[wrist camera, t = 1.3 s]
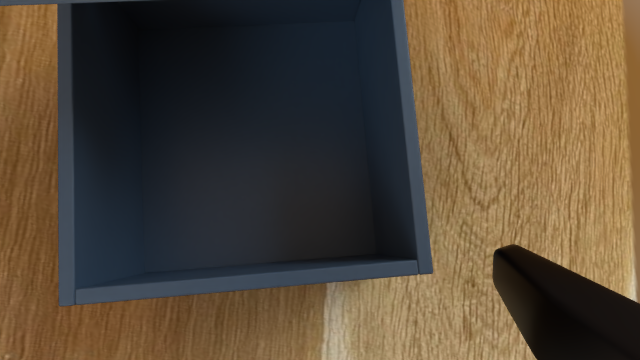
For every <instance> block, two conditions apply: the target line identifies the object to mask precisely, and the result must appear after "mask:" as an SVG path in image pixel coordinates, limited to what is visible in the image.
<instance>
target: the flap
mask: <svg viewBox="0 0 640 360" xmlns="http://www.w3.org/2000/svg"><path fill="white" fill-rule="evenodd" d="M122 1H151V0H0V6H8V5H37V4H65V3H94V2H122Z"/></svg>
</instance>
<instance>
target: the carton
mask: <svg viewBox="0 0 640 360" xmlns="http://www.w3.org/2000/svg"><path fill="white" fill-rule="evenodd" d="M58 233H59V306H72V305H83V304H95V303H106V302H117V301H128V300H140V299H151V298H162V297H174V296H185V295H196V294H207V293H219V292H230V291H241V290H253V289H264V288H275V287H286V286H298V285H309V284H320V283H332V282H343V281H354V280H365V279H377V278H388V277H399V276H411V275H418V274H420V275H422V274H432V273H433V266H432V257H431V248H430V239H429V230H428V220H427V211H426V202H425V193H424V184H423V175H422V166H421V157H420V148H419V138H418V129H417V120H416V111H415V102H414V93H413V84H412V75H411V66H410V57H409V47H408V38H407V29H406V20H405V11H404V2H403V0H151V1H122V2H94V3H65V4H58Z"/></svg>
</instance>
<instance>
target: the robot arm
mask: <svg viewBox="0 0 640 360" xmlns="http://www.w3.org/2000/svg"><path fill="white" fill-rule="evenodd" d="M492 276H493V282H494V285H495V287H496V289H497V291H498V293H499V295H500V296H501V298H502V300H503V302H504V304H505V305H506V307H507V309H508V311H509V312H510V314H511V316H512V318H513V319H514V321H515V323H516V325H517V327H518V328H519V330H520V332H521V334H522V335H523V337H524V339H525V341H526V342H527V344H528V346H529V348H530V349H531V351H532V353H533V354H534V356H535V357H536V359H537V360H640V304H639V303H637V302H635V301H633V300H631V299H629V298H627V297H625V296H623V295H621V294H618V293H616V292H614V291H612V290H610V289H608V288H606V287H604V286H602V285H600V284H598V283H596V282H593V281H591V280H589V279H587V278H585V277H583V276H581V275H579V274H577V273H575V272H573V271H571V270H568V269H566V268H564V267H562V266H560V265H558V264H556V263H554V262H552V261H550V260H548V259H546V258H544V257H541V256H539V255H537V254H535V253H533V252H531V251H529V250H527V249H525V248H523V247H521V246H518V245H515V244H512V245H508V246H505V247H502V248H499V249H497V250H495V252H494V256H493V275H492Z"/></svg>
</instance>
